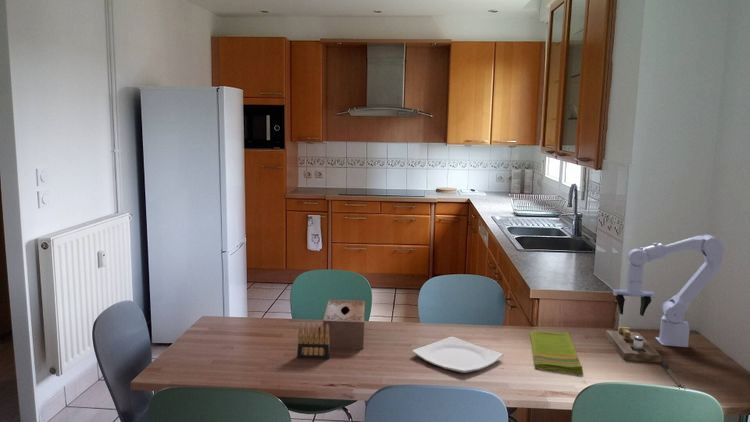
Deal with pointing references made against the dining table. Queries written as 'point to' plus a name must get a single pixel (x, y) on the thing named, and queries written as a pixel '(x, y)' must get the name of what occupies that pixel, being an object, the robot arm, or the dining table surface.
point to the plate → (457, 355)
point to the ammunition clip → (313, 343)
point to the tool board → (626, 347)
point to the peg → (638, 343)
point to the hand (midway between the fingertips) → (631, 314)
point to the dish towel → (555, 352)
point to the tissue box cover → (345, 323)
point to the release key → (624, 331)
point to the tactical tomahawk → (672, 375)
